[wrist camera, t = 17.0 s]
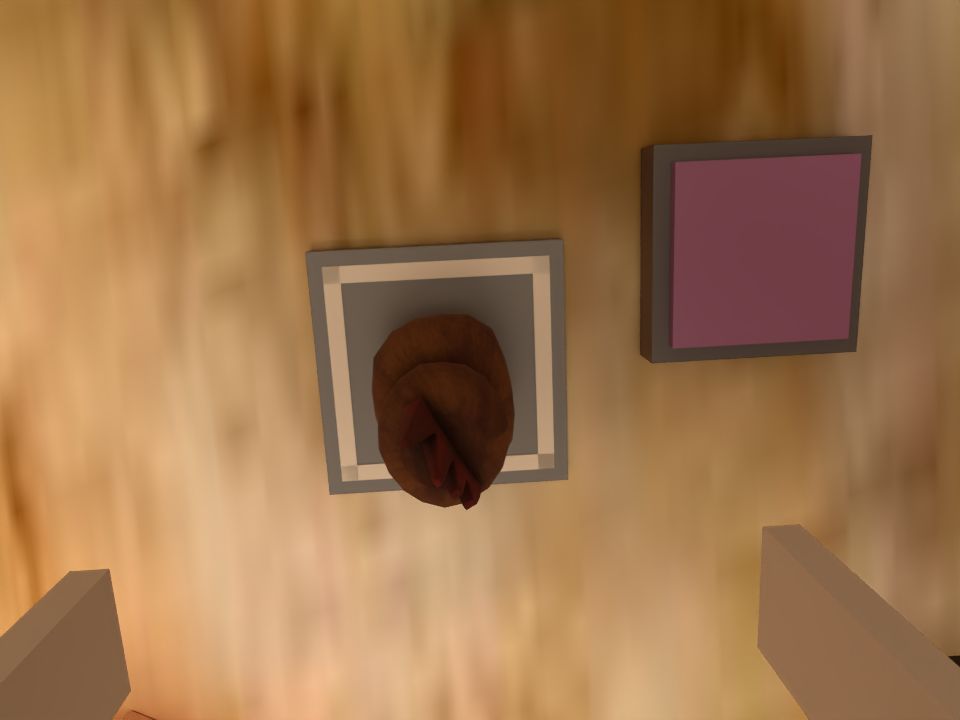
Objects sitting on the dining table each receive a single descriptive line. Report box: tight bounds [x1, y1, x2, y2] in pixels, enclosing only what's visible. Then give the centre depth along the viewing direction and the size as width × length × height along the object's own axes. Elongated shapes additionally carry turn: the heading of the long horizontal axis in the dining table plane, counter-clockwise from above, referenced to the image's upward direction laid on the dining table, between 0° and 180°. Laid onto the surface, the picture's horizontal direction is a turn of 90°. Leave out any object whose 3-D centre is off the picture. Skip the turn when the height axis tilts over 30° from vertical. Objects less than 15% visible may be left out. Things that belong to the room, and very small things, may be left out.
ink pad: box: [640, 135, 872, 363], centre depth 33 cm, size 10×10×3 cm
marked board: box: [305, 238, 568, 495], centre depth 34 cm, size 12×12×1 cm
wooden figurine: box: [372, 314, 515, 510], centre depth 26 cm, size 7×6×15 cm
